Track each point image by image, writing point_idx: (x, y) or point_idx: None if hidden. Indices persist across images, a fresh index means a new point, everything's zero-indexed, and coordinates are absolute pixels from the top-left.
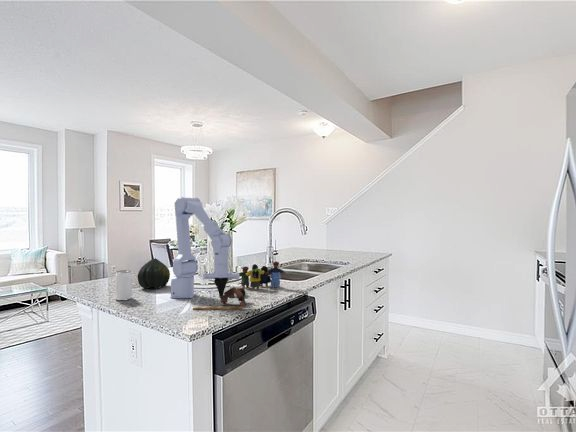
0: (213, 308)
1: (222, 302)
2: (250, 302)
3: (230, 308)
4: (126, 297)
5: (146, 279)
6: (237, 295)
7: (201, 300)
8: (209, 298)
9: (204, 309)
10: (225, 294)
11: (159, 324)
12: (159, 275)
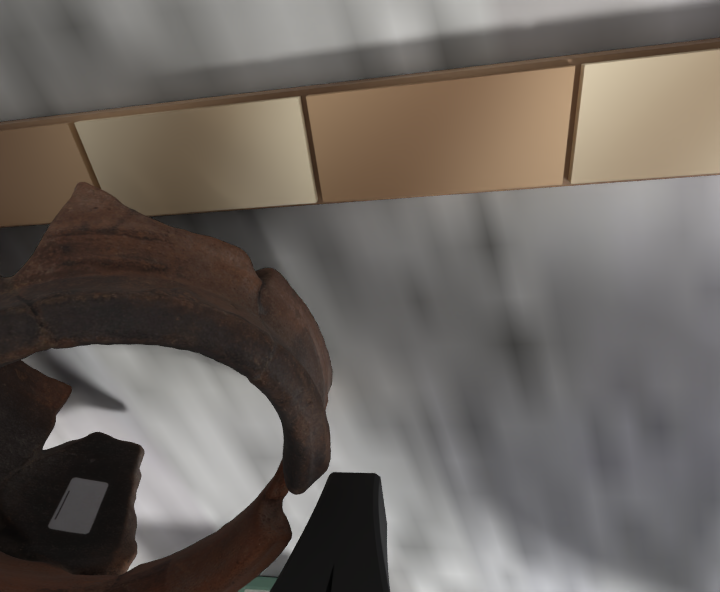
0: (387, 78)
1: (230, 245)
2: (49, 448)
3: (65, 115)
4: None
5: None
6: (111, 514)
7: (686, 524)
8: (583, 576)
9: (585, 53)
10: (35, 332)
11: None
12: None
